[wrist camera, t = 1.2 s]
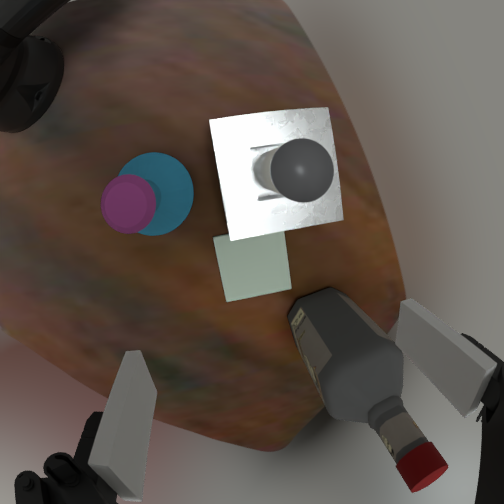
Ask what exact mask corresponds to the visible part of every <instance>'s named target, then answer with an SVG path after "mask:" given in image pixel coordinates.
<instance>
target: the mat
mask: <svg viewBox="0 0 504 504" xmlns="http://www.w3.org/2000/svg"><path fill="white" fill-rule="evenodd" d="M213 240H214V245H215V250H216V255H217V260H218V264H219V269H220V274H221V279H222V283H223V288H224V293H225V297H226V302H230V301H235V300H240V299H245V298H250V297H255V296H259V295H264V294H269V293H274V292H278V291H283V290H288V289H291V281H290V273H289V265H288V257H287V249H286V242H285V234H284V231H280V232H275V233H269V234H264V235H259V236H254V237H248V238H243V239H238V240H233V241H231V240H230V236H229V234H224V235H219V236H214V237H213Z"/></svg>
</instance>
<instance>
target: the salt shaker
mask: <svg viewBox="0 0 504 504" xmlns="http://www.w3.org/2000/svg"><path fill="white" fill-rule="evenodd" d="M253 171H254V177H255V179H256V181H257V183H258V184H259V185H260V186H261V187H263V188H265V189H267V190H270V191H273V192H276V193H279V194H281V195H283V196H284V197H286V198H288V199H290V200H292V201H295V202H301V203H306V202H312V201H315V200H317V199H319V198H320V197H322V196H323V195H324V194H325V193H326V192H327V191H328V189H329V188H330V186H331V184H332V181H333V176H334V166H333V162H332V159H331V156H330V155H329V153H328V151H327V150H326V149H325V148H324V147H323V146H322V145H321V144H319V143H318V142H316V141H314V140H311V139H306V138H298V139H293V140H290V141H288V142H286V143H284V144H283V145H281V146H280V147H278V148H275V149H273V150H270V151H267V152H265V153H263V154H261V155H260V156H259V157H258V158H257V160H256V161H255V164H254V168H253Z"/></svg>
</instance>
